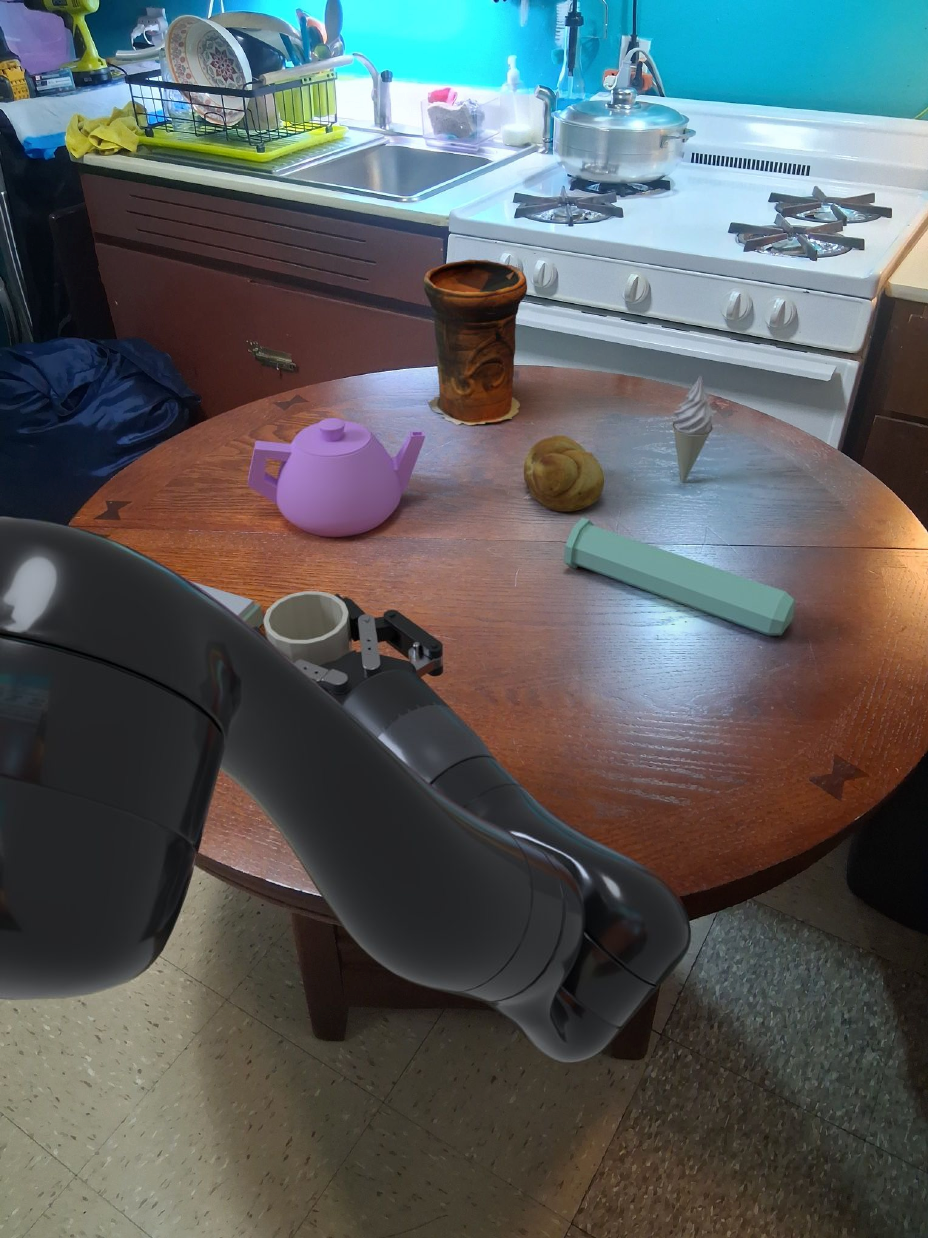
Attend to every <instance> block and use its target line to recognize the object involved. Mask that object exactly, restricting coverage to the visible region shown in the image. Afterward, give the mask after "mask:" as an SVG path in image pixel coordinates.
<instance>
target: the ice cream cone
mask: <svg viewBox="0 0 928 1238" xmlns="http://www.w3.org/2000/svg"><path fill="white" fill-rule="evenodd" d="M685 399H686V400H685V401H684V402H682V403H680V404H678V405H677V407H678V408H679V410H674V412H673V415H674V416H676V418H675V419H673V420H672V424H671V426H672V429H673V435H674V442H675V450H676V457H677V464H678V472H679V477H680V483H681V484H684V483H686V480H687V479H688V477H689V475H690V473H691V471H692V469H693V467H694V465H695V464H696V461H697V459H698V458H699V456H700V453H701V452H702V449H703V448H704V446H705V443H706V441H707V439H708V438H709V435H710V434H711V433H712V432H713V430H714V428H713V422H714V418H715V414H714V411H713V409H712V406H710V405H709V403H708V399H709V395H708V394H707V392H706V390H705V387H704V382H703V378H702V375H701V374H700V375H699V377H698V378H697V380H696V381H695V383H694V384H693V386H692V387H691V388H690V390H689V391H688V392H687V394H686V395H685Z"/></svg>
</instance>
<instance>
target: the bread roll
mask: <svg viewBox="0 0 928 1238" xmlns="http://www.w3.org/2000/svg"><path fill="white" fill-rule="evenodd" d="M523 478H524V482H525V485H526V487H527V489H528V491H529V493H530V494H531V496H532V497H533V498H534V500H535V501H536V502H537V503H539V505H540V506H542V507H544V508H546V509H549V510H552V511H555V512H564V513H565V512H575V511H580V510H583V509H584V508H588V507H590V506H591V505H592V504H595V503H596V502H597V501H598V500H599V498H600V497H601V495H602V493H603V490H604V486H605V474H604V470H603V466H601V463H600V462H599V461H598V459H597V458H596V457H595V455H594V454H593V453H591V452H588V451H586V450H585V448H584V447H583V445H581V444H580V443H578V442H577V441H575V440H573V439H572V438H570V437H568V436H566V435H554V436H551V437H546V438H542V439H540V440H539V441H537V442H536V443H535V444H534V445H532V446H531V448H530V449H529V451H528V452H527V454H526V456H525V460H524V464H523Z"/></svg>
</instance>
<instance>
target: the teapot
mask: <svg viewBox="0 0 928 1238" xmlns="http://www.w3.org/2000/svg"><path fill="white" fill-rule="evenodd" d="M425 439H426V434H425V431H424V430H412V431H411V430H410V431H409V434H408V436H407V437H406V439H405V441H404V442H403V444H402V445H401V447H400V449H399V451H398V452H397V454H396V456H394V457H392V456H391V455H390V454H389V452H388V450H387V449H386V448H385V446H384V445H383V444H382V443H381V442H380V440H379V439H378V438H377V437H376V435H374V433H373V432H371V430H369V429H368V428H367V427H366V426H364V425H362V424H360V423H358V422H354V421H349V420H344V419H342V418H338V417H330V418H329V417H328V418H324V419H322V420H320V421H319V422H317V423H313V424H311V425H308V426H306V427H305V428H303V429H302V430H300V431H299V432H298V433H297V434H296V435H295V437H294V438H293V439H292V441H291V443H285V442H276V441H275V442H274V441H264V440H255V442H254V448H253V451H252V457H251V462H250V467H249V470H248V471H249V472H248V477H247V484H246V487H248V488H250V489H251V490H253V491H255V492H256V493H258V494H259V495H261V496H262V497H264V498H265V499H267V500H269V501H271V502H272V503H274V504H275V505H277V507H278V510H279V511H280V513H281V515H282V516H283V517H284V518H285V519H287V521H289V523H291V524H293V525H294V526H296V527H297V528H298V529H300V530H302V531H304V532H306V533H308V534H311V535H315V536H318V537H324V538H325V537H327V538H343V537H352V536H356V535H361V534H364V533H367V532H369V531H372V530H374V529H375V528H377V527H379V526H380V525H381V524H383V523H384V522H385V521H386V520H387V519H388V518H389V517H390V516H391V515H392V514H393V513H394V511H395V510H396V509H397V507H398V506H399V504H400V501H401V499H402V493H404V492H406V490H407V487H408V485H409V482H410V479H411V476H412V474H413V472H414V469H415V465H416V463H417V461H418V458H419V455H420V452H421V450H422V447H423V445H424V441H425ZM267 459H269V460H275V461H281V463H280V465H279V469H278V472H277V476H276V477H274V476H273V475H272V474H270V473H268V472H266V468H267V467H266V466H267Z"/></svg>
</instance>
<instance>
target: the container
mask: <svg viewBox="0 0 928 1238" xmlns="http://www.w3.org/2000/svg"><path fill="white" fill-rule="evenodd" d="M569 533H570V534H569V536H568V538H567V541H566V543H565V545H564V554H563V563H564V564H565V565H567V567H569V568H571V569H573V570H574V569H575V570H576V569H577V568H578V567H580V568H583V569H586V570H588V571H590V572H594V573H596V574H600V575H602V576H605V577H608V578H610V579H613V580H616V581H618V582H621V583H624V584H627V585H630V586H632V587H635V588H637V589H640V590H643V591H646V592H649V593H651V594H654V595H657V596H659V597H662V598H665V599H667V600H670V601H672V602H676V603H678V604H681V605H684V606H687V607H689V608H691V609H695V610H697V611H700V612H702V613H706V614H708V615H711V616H714V617H716V618H720V619H722V620H725V621H727V622H730V623H732V624H736V625H739V626H741V627H744V628H747V629H750V630H752V631H754V632H756V633H761V634H763V635H765V636H769V637H776V636H777V637H779V636H782V635H783V634H784V632H785V630H786V629H787V628H788V626H789V625H790V624H791V622H792V621H793V620H794V611H795V603H796V601H795V598H793V597H792V596H791V595H790V594H788V592H787V591H785V590H781V589H780V588H776V587H773V586H770V585H767V584H764V583H762V582H758V581H756V580H753V579H750V578H747V577H745V576H741V575H738V574H736V573H732V572H730V571H726V570H723V569H721V568H718V567H715V566H712V565H710V564H706V563H703V562H700V561H697V560H694V559H692V558H688V557H686V556H683V555H679V554H677V553H674V552H671V551H668V550H665V549H662V548H659V547H658V546H657V547H656V546H654V545H650V544H648V543H645V542H642V541H640V540H636V539H633V538H631V537H628V536H625V535H622V534H618V533H616V532H614V531H610V530H608V529H605V528H601V527H599V526H596V525H594V523H593V522H592V521H591V520H590V519H587V518H585V517H581V518H580V519H579V520H578V521H577V522H576V524H574V525H573V526H572V529H571V531H570V532H569Z"/></svg>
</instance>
